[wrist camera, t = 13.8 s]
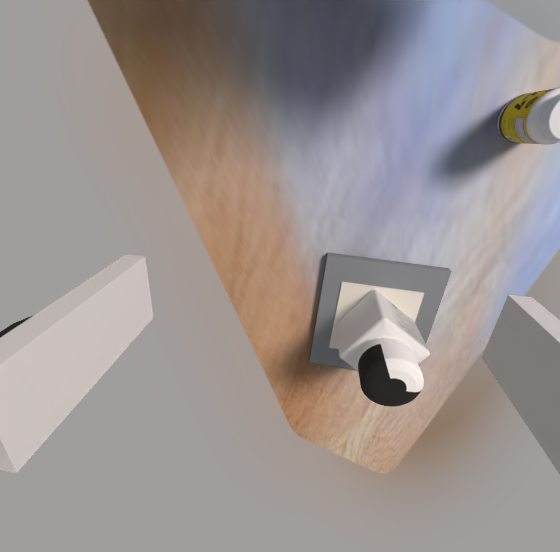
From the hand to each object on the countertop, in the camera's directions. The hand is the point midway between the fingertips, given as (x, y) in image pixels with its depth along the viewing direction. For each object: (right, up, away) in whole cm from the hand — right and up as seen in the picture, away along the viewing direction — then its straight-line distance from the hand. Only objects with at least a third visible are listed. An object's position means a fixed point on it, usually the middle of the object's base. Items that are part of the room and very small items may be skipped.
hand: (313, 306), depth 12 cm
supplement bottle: (+25, +18, +23) cm, 38 cm away
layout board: (+12, -5, +35) cm, 37 cm away
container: (+12, -5, +34) cm, 36 cm away
